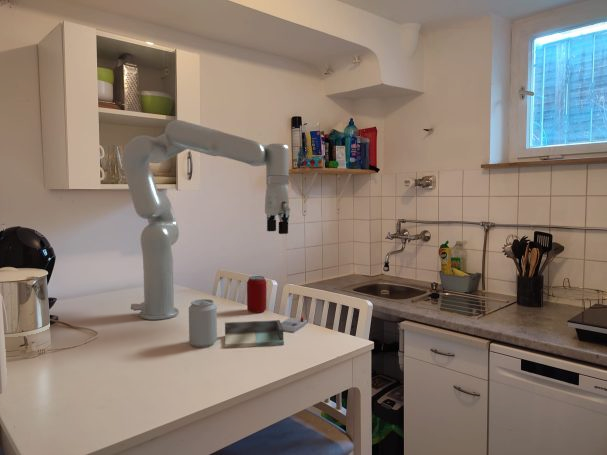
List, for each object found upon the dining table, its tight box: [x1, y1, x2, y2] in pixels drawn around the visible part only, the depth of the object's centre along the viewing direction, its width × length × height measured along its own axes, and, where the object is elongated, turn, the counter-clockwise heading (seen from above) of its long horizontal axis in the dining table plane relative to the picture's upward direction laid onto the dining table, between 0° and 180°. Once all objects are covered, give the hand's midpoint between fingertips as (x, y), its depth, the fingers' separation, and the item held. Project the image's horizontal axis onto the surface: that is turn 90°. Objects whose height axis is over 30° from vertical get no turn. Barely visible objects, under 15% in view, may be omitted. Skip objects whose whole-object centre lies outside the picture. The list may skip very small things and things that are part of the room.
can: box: [188, 298, 218, 348], centre depth 123 cm, size 8×8×12 cm
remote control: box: [281, 317, 310, 334], centre depth 140 cm, size 7×16×3 cm, turn 155°
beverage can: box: [246, 275, 267, 314], centre depth 157 cm, size 7×7×12 cm
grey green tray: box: [224, 319, 285, 349], centre depth 126 cm, size 16×10×4 cm, turn 100°
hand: (277, 232), depth 150 cm, fingers open, 9 cm apart
